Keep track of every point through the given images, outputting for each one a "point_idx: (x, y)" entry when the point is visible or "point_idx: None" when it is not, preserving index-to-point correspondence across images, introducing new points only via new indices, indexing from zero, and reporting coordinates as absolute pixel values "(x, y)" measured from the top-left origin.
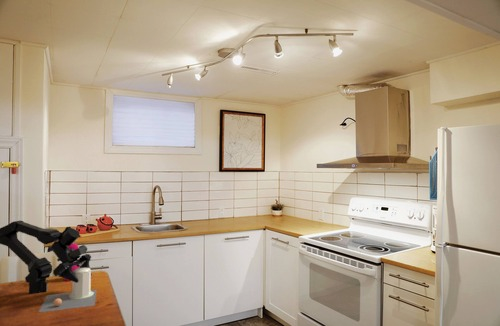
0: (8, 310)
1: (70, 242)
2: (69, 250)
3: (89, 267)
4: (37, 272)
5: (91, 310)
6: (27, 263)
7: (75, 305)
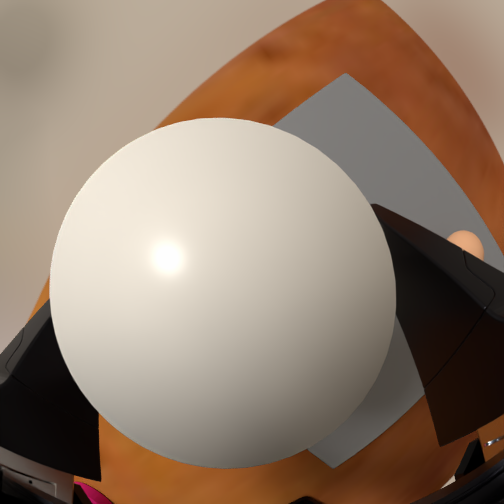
0: None
1: None
2: None
3: (21, 333)
4: None
5: (370, 77)
6: None
7: (402, 162)
